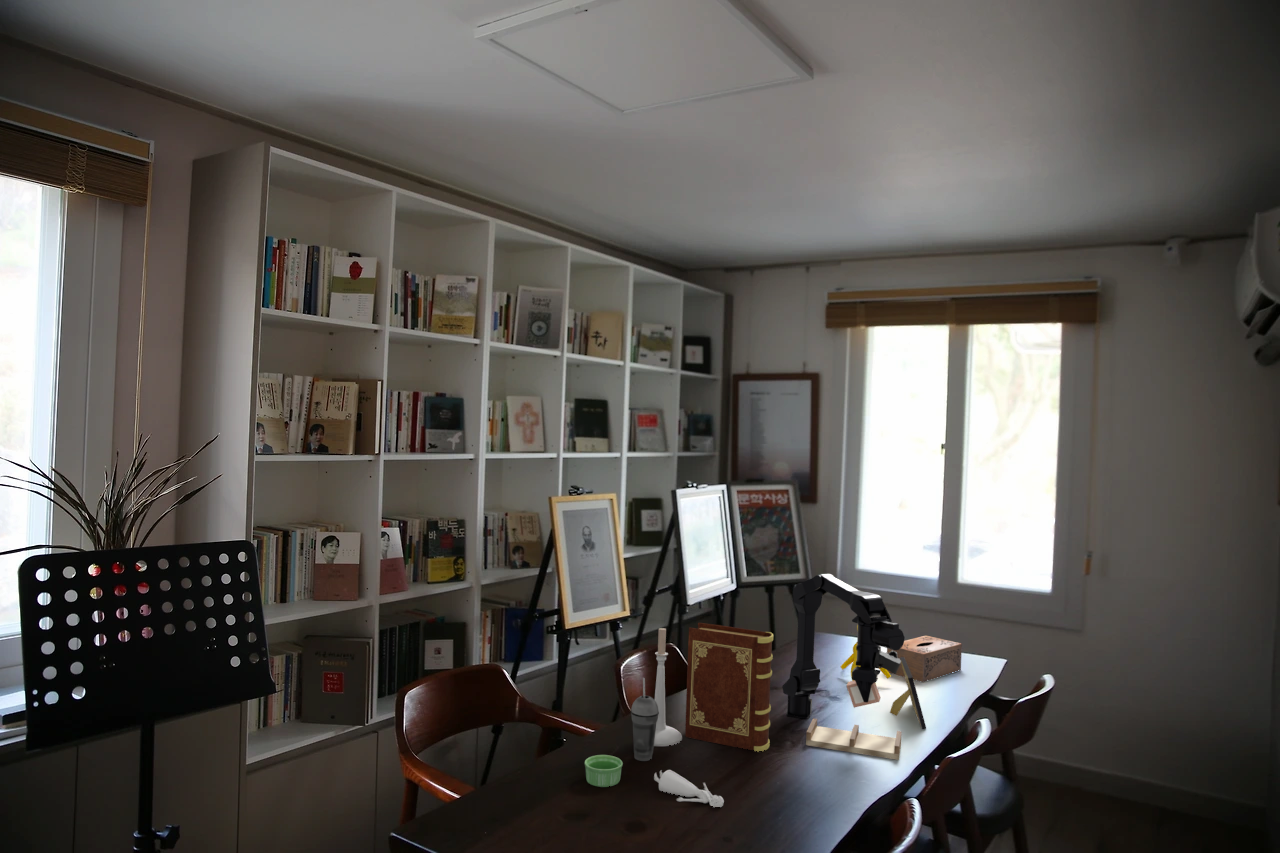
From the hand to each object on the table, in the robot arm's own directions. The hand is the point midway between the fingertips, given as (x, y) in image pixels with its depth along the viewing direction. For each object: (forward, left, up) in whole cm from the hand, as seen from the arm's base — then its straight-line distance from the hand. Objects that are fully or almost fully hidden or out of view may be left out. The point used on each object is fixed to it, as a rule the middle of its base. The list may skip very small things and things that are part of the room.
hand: (866, 699), depth 226 cm
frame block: (0, 0, -1) cm, 1 cm away
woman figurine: (-35, -49, -13) cm, 62 cm away
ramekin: (-56, -50, -13) cm, 76 cm away
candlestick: (-53, -18, -13) cm, 57 cm away
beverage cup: (-52, -33, -13) cm, 63 cm away
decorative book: (-35, -12, -13) cm, 39 cm away
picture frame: (+9, +32, -13) cm, 36 cm away
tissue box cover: (+13, +86, -13) cm, 88 cm away
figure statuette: (-6, +61, -13) cm, 63 cm away
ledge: (-3, 0, -13) cm, 13 cm away
